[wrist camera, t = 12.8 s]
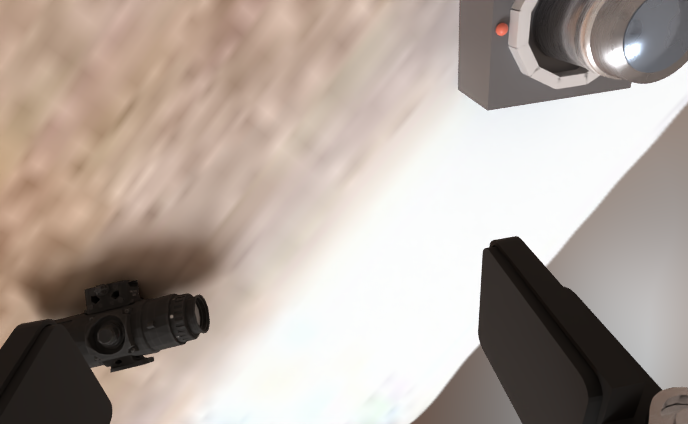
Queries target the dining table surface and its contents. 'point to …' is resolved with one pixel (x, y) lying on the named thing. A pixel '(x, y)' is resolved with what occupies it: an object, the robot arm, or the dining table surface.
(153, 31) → the dining table surface
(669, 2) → the lens
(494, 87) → the grey ring-socket block
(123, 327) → the night vision scope
